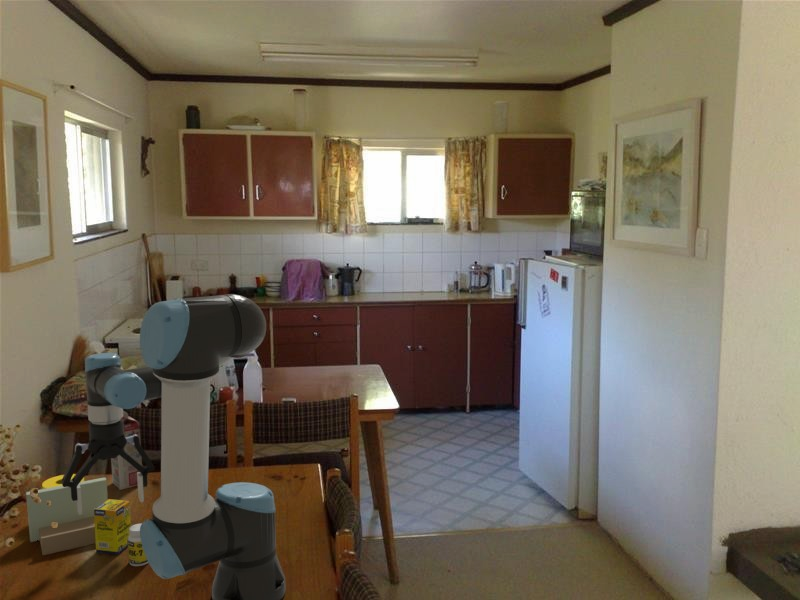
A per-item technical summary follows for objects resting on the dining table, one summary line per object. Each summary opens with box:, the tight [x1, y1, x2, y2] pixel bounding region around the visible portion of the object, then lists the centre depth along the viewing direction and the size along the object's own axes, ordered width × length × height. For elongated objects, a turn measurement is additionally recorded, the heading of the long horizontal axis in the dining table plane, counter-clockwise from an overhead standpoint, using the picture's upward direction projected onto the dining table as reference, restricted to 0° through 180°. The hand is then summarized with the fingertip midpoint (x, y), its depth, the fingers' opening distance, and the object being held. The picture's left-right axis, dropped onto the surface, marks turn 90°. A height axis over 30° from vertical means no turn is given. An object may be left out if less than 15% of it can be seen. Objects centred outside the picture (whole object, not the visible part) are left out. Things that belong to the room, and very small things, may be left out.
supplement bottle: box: [127, 522, 149, 567], centre depth 161 cm, size 5×5×8 cm
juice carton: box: [110, 410, 143, 491], centre depth 205 cm, size 7×7×22 cm
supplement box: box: [94, 498, 132, 556], centre depth 167 cm, size 6×6×11 cm
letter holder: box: [25, 476, 109, 556], centre depth 172 cm, size 11×18×12 cm, turn 121°
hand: (111, 506), depth 167 cm, fingers open, 13 cm apart
